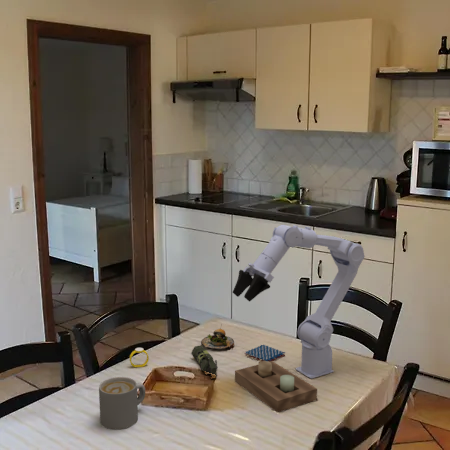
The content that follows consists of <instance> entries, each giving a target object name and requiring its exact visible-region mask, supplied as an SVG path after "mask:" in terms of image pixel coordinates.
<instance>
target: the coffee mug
mask: <svg viewBox="0 0 450 450" xmlns="http://www.w3.org/2000/svg"><path fill="white" fill-rule="evenodd" d="M98 385H99V386H98V391H99V392H98V397H99V398H98V399H99V421H100V425H101V426H102V427H103V428H105V429H109V430H114V431H115V430H116V431H118V430H125V429H128V428H130V427H132V426H134V425H135V424H136V423H137V422H138V420H139V414H138V413H139V411H138V406H139V405H140V404H141V403H143V401H144V400H145V396H146V387H145V385H144V384H143V383H141V382H137V381H136V380H135V379H134V378H132V377H128V376H127V377H126V376H115V377H110V378H107V379H105V380H103V381H102V382H101V383H99V384H98ZM138 390H139V393H138Z"/></svg>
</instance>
